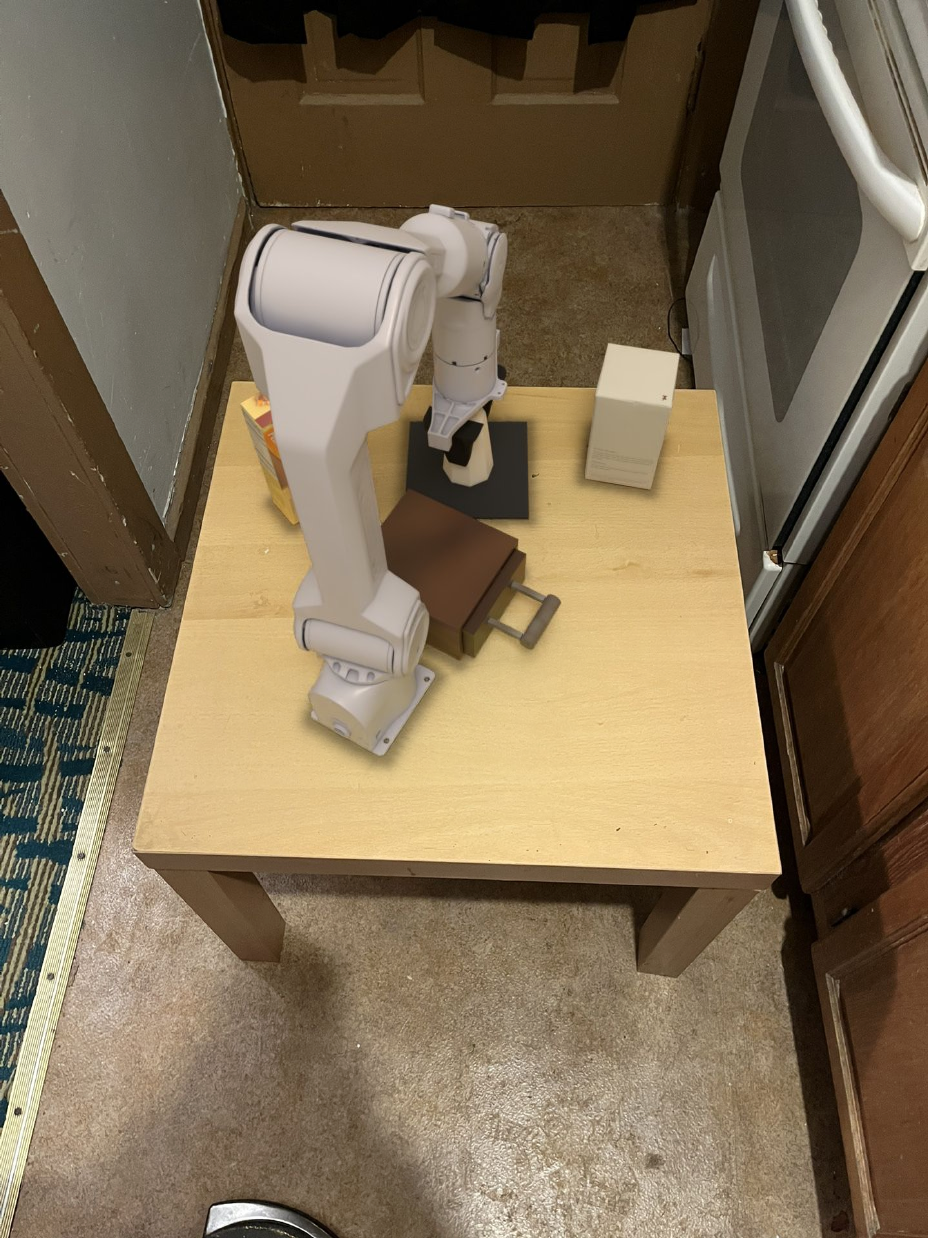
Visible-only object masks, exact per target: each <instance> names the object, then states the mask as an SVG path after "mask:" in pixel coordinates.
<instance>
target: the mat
mask: <svg viewBox="0 0 928 1238" xmlns="http://www.w3.org/2000/svg"><path fill="white" fill-rule="evenodd" d="M487 424H488V431H489V438H490V445H491V452H492V459H493V467H492V470H491V472H490V475H489V477H488V480H485V481H483V482H481V483H478V484H476V485H473V486H471V487H468V486H464V485H461V484H457V483H453V482H451V480H450V479H449V477H448V476H447V474H446V472H445V471H444V469H443V462H444V452H443V450H440V449H437V448H434V447H430V446H429V443H428V432H427V431H426V430H425V429H424V425H423V420H419V421H417V420H412V421H411V420H410V421H409V432H408V446H407V447H408V448H407V462H406V477H405V491H404V492H405V493H406V491H407V490H408V489H411V490H413V491H415V492H418V493H420V494H422V495H424V496H426V497H428V498H431V499H433V500H435V501H437V502H439V503H441V504H444V505H446V506H448V507H450V508H452V509H454V510H457V511H459V512H461V513H463V514H465V515H467V516H470V517H472V518H474V519H476V520H529V519H530V503H529V502H530V501H529V453H528V452H529V451H528V450H529V449H528V448H529V447H528V446H529V445H528V421H491V420H490V421H488V420H487ZM405 493H404V494H405Z"/></svg>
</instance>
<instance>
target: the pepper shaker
mask: <svg viewBox="0 0 928 1238" xmlns="http://www.w3.org/2000/svg"><path fill="white" fill-rule="evenodd" d="M469 420H472V421H475V422H479V423H483V424H484V425H483V428H482V430H481V432H480V434H479V436H478V438H477V439H476V441H475V442H474V443H473V448H472V454H471V458H470V460H469V462H468V465H467V466H466V467H463V466H460V465H456V464H453V463H449V462H448V460H447V458H446V456H445V454H444V462H443V469H444V471H445V472H446V474H447V476H448V477H449V479H450V480H451V482H453V483H457V484H461V485H464V486H468V487H471V486H473V485H476V484H478V483H481V482H483V481H485V480H488V477H489V475H490V472H491V470H492V467H493V459H492V452H491V445H490V438H489V431H488V424H487V421H488V420H487V417H486V412H485V411H484V409H483V408H481V409H480V410H478V411H477V412H476V413H475V414H474V415H473V416H472V417H471V418H470V419H469Z"/></svg>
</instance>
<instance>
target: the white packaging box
mask: <svg viewBox="0 0 928 1238" xmlns="http://www.w3.org/2000/svg"><path fill="white" fill-rule="evenodd" d="M680 356H681V355H680V353H677V352H670V351H664V350H663V351H662V350H657V349H649V348H643V347H637V346H630V345H623V344H618V343H611V342H608V343H607V347H606V349H605V354H604V358H603V363H602V366H601V370H600V373H599V377H598V381H597V385H596V390H595V393H594V402H593V410H592V418H591V425H590V426H591V427H590V431H589V439H588V447H587V454H586V459H585V460H586V461H585V469H584V479H585V480H591V481H597V482H603V483H609V484H615V485H621V486H627V487H632V488H638V489H643V490H644V489H645V490H649V491H650V490H651V489H652V487H653V482H654V478H655V475H656V470H657V466H658V463H659V460H660V456H661V452H662V448H663V444H664V442H665V441H664V440H665V438H666V437H665V436H666V433H667V429H668V426H669V421H670V418H671V415H672V410H673V406H674V399H675V392H676V386H677V377H678V370H679V369H678V368H679V361H680Z"/></svg>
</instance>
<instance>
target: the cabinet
mask: <svg viewBox="0 0 928 1238" xmlns="http://www.w3.org/2000/svg"><path fill="white" fill-rule="evenodd" d="M405 491H406V490H405ZM381 530H382V537H383V543H384V549H385V555H386V561H387V568H388V570H389V571H390V572H392V573H393V574H394V575H396V576H397V577H399V578H400V579H402V580H403V581H405V582H406V583H408V584H409V585H410V586H412V587H413V588H415V589H416V590H417V591H418V592H419V593H420V600H421V602H422V603H424V604H425V606H426V609H427V611H428V613H429V628H428V633H427V638H426V642H425V645H426V644H427V645H428V646H431V647H432V648H434V649H436V650H438V651H440V652H442V653H444V654H446V655H448V656H449V657H452V658H454V659H456V660H458V661H461V660H462V659H463V658H464V656H465V655H466V653H464V652H463V632H462V627H463V626H464V624H465V623H466V621H467V620H468V618H469V617H470V615H471V614H472V612H473V611H474V609H475V608H476V606H477V605H478V603H479V601H480V600H481V598H482V597H483V595H484V594H485V592H486V591H487V589H488V588H489V586H490V585H491V583H492V582H493V580H494V579H495V577H496V576H497V574H498V573H499V571H500V570H501V568H503V567H504V565H505V564H506V562H507V561H508V559H509V558H510V556H511V555H512V553H513V552H514V550H515V549H518V550H519V538H517V537H515V536H513V535H511V534H509V533H506V532H504V531H502V530H500V529H497V528H495V527H493V526H491V525H488V524H487V523H484V522H483V521H481V520H479V519H474V518H472V517H470V516H467V515H465V514H463V513H461V512H459V511H457V510H454V509H452V508H450V507H448V506H446V505H444V504H441V503H439V502H437V501H435V500H433V499H431V498H428V497H426V496H424V495H422V494H420V493H418V492H415V491H413V490H411V489H408V490H407V491H406V493H404V494H403V495H402V497H401V498H400V499H399V501H398V502H397V503H396V505H395V506H394V507H393V508H392V510H391V511H390V512H389V514H388V515H387V517H386V518H385V519H384V521H383V522H382V523H381Z"/></svg>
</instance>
